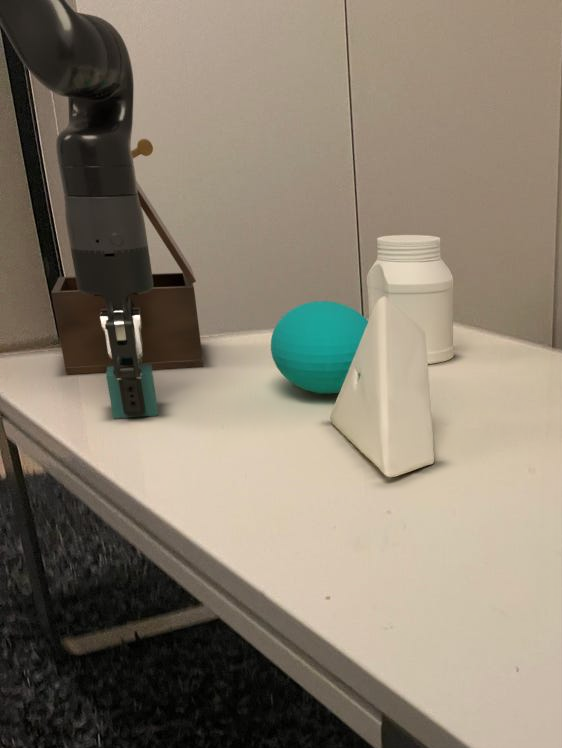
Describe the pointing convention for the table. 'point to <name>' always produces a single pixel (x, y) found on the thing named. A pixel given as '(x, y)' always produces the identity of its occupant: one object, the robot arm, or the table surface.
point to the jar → (416, 288)
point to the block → (147, 390)
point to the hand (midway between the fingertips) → (135, 406)
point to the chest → (159, 325)
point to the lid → (146, 149)
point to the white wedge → (388, 394)
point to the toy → (317, 345)
